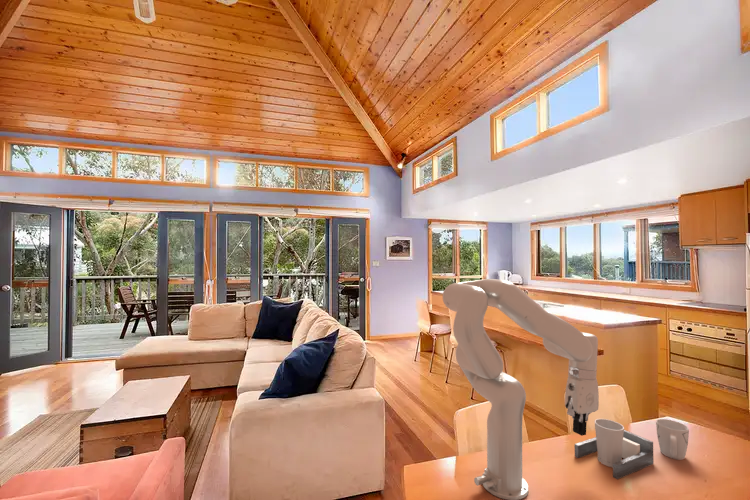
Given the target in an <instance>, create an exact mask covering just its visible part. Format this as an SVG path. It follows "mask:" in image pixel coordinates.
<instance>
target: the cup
mask: <svg viewBox="0 0 750 500" xmlns="http://www.w3.org/2000/svg"><path fill="white" fill-rule="evenodd" d="M594 429H595V437H596V441H597V460H598V462H599V463H600V462H601V464H602V465H604V466H606V467H609V468H613V463H616V462H618V461H621V460H622V446H623V435H624V430H625V427H624V425H623V424H621V423H620V422H617V421H614V420H611V419H608V418H607V419H606V418H596V419H594Z"/></svg>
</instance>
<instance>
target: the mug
mask: <svg viewBox="0 0 750 500" xmlns="http://www.w3.org/2000/svg"><path fill="white" fill-rule="evenodd" d="M655 425H656V426H655V428H656V436H657V442H658V446H659V451H660V453H661V454H662V455H664V456H666V457H668V458H670V459H674V460H684V459H686V456H687V449H688V444H689V436H690V435H689V434H690V429H689V427H688V426H687V425H685V424H684V423H681V422H680V421H679V422H678V421H676V420H671V419H667V418H666V419H665V418H658V419H656V421H655Z"/></svg>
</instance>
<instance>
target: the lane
mask: <svg viewBox="0 0 750 500" xmlns="http://www.w3.org/2000/svg"><path fill="white" fill-rule="evenodd" d="M623 437H624V438H626V439H628V440H631V441H633V442H635V443H637V444H640V453H639V454H636V455H634V456H631V457H629V458H626V459H624V458H623V459H621V461H618V462H616V463H613V467H612V478H614V479H616V480H619V479H621V478H625V477H627V476H629V475H631V474H634V473H635V472H638V471H641V470H643V469H645V468H648V467H649V466H652V465H654V464H655V463H654V441H653V440H650V439H647V438H645V437H642V436H640V435H638V434H636V433H633V432H630V431H628V430H626V429H624V435H623ZM596 452H597V441H596V436H595V437H593V438H588V439H586V440H583V441H579V442H577V443H574V457H575V458H576V459H579V458H582V457H585V456H588V455H591V454H594V453H596ZM597 453H598V452H597Z"/></svg>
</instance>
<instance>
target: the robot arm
mask: <svg viewBox="0 0 750 500" xmlns="http://www.w3.org/2000/svg"><path fill="white" fill-rule="evenodd" d="M442 301H443V304H444V305H445V307H446V308H447V309H449V310H450V311H453V312H456V313H455V316H454V320H453V327H452V329H453V336H454V339H455V340H456V342H457V346H456V348H455V360H456V363H457V364H458V366H459V368H460V369H461V370H462V372H463V375H464V376H465V377H466V379H467V381H468V382H469V384H470V386H471V387H472V388H473V389H474V391H476V393H477V394H479V395H480V396H481V397H482V398H484V399H485V400H487V401H488V402H489V403H490V404H491V407H490V411H489V412H488V415H487V419H486V429H487V430H486V431H487V432H486V442H487V443H486V444H487V445H486V448H487V450H486V452H487V453H486V455H487V457H486V462H487V463H486V466H487V467H486V468H484V472H482V475H480V476H476V477H474V479H473V480H474V484H475V485H476V486H483V488H484V490H486V491H487V492H488V493H490V494H491V495H493V496H495V497H497V498H500V499H503V500H522V499H524V498H526V497H527V496H528V494H529V485H528V483H527V481H526V479H524V478H523V416H524V409H525V405H526V401H527V394H526V390H525V388H524V386H523V384H522V383H521V381H519V380H518V379H517V378H516V377H514V376H512V375H510V374H508V373H507V372H504V371H503V370H504V361H503V358H502V357H501V354H500V353H499V351H498V350H497V348H496V347H495V345H494V343H493V342H492V339H490V337H489V335H488V334H487V331H486V329H485V327H484V318H485V315H486V313H487V310H488V307H491V308H496V309H498V310H499V311H500V312H501V313H503V314H504V315H505V316H507V318H509V319H510V320H511V321H512V322H514V323H515V324H516V325H518V327H520V328H521V329H523V330H524V331H527V332H528V333H530V334H532V335H534V336H537V337H539V338H542V344H543V347H544V348H545V349H546V350H547V351H548V352H550V353H551V354H553V355H556V356H559V357H562V358H565V359H568V370H567V371H568V372H567V373H568V374H567V380H566V384H565V385H566V386H565V392H564V393H565V394H564V406H565V408H566V409H567V412H566V414H567V415H569V416H571V418H572V431H573V432H574V433H575V434H577V435H579V436H587V423H588V421H589V416H590V414H592V413H595V412H598V410H599V405H600V404H599V403H600V402H599V400H600V399H599V384H598V378H597V370H598V348H599V347H598V346H599V339H598V336H596V335H595V334H593V333H590V332H583V331H581V330H579V329H578V328H576V327H575V326H574V325H572V324H571V323H569V322H568V321H566V320H564V319H562V318H561V317H559V316H557V315H556V314H554V313H553V312H551V311H549V310H547V309H545V308H544V307H543V306H541V305H539V304H538V303H537V302H536V301H535V300H534V299H533V298H531V297H530V296H529V295H528V294H527V293H526V292H524V291H523V289H521V288H520V287H518V286H517V285H516V284H515V283H513V282H511V281H509V280H505V279H495V278H485V279H477V280H470V281H461V282H454V283H451V284H448V285H447V286H446V287H445V289H444V290H443V293H442Z"/></svg>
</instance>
